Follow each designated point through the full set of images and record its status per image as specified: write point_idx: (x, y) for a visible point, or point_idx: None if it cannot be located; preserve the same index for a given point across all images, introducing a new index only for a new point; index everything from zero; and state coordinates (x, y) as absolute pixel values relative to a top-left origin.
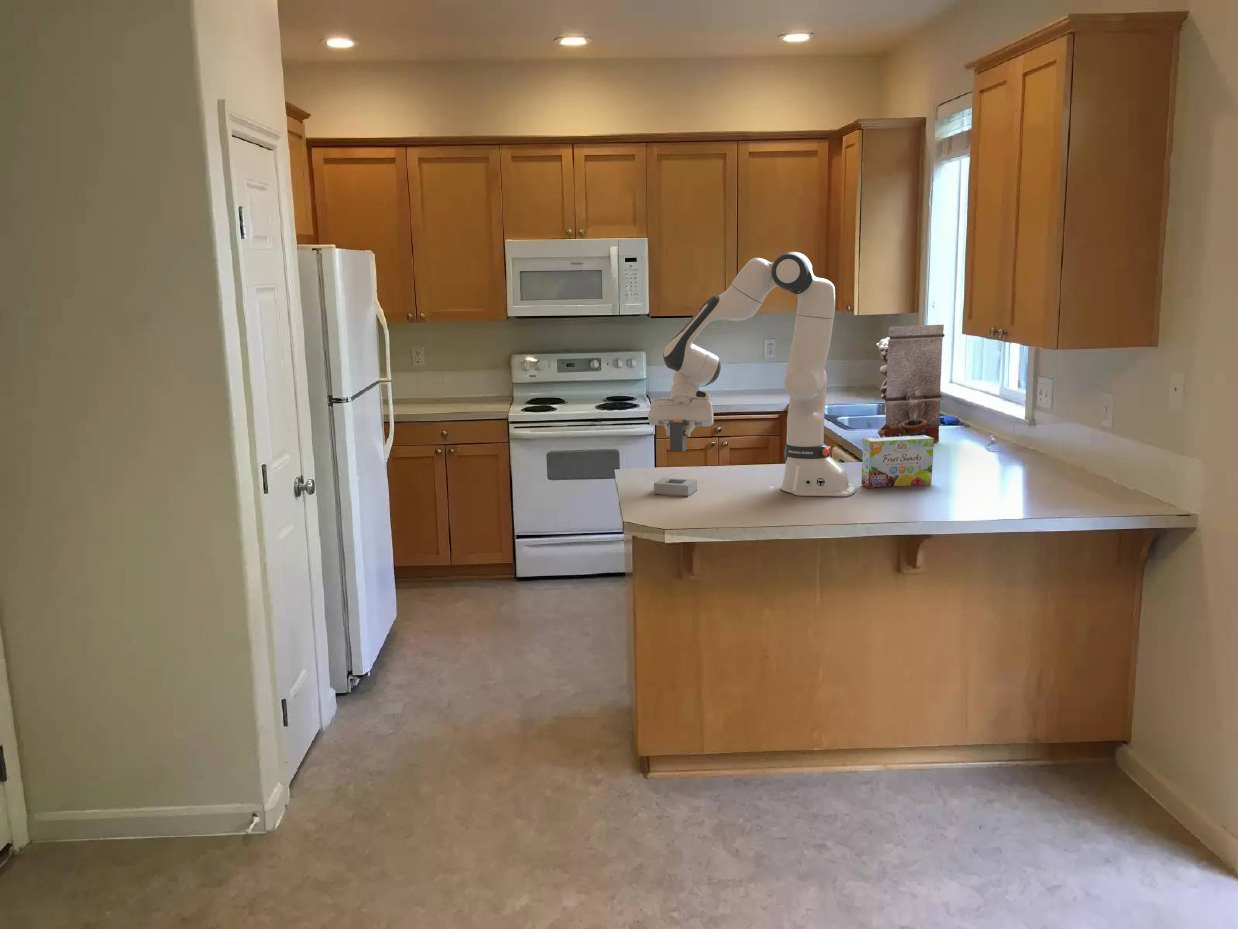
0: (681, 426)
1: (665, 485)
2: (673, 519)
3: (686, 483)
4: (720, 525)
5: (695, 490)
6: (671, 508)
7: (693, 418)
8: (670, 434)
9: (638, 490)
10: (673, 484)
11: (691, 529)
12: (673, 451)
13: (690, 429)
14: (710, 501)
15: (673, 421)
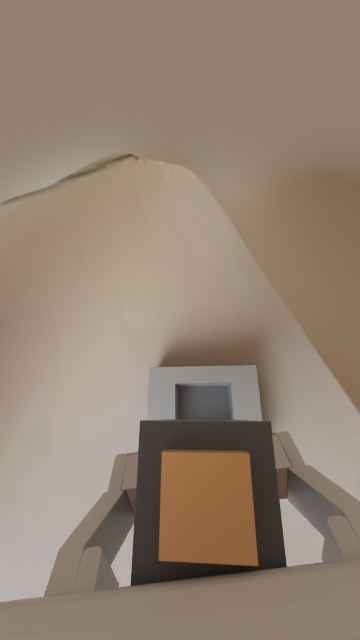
0: (154, 420)
1: (218, 366)
2: (132, 202)
3: (162, 393)
4: (48, 197)
5: None
6: (160, 265)
7: (31, 620)
8: (245, 420)
9: (316, 407)
10: (194, 369)
11: (89, 167)
12: (217, 419)
13: (104, 497)
14: (92, 347)
15: (243, 450)
